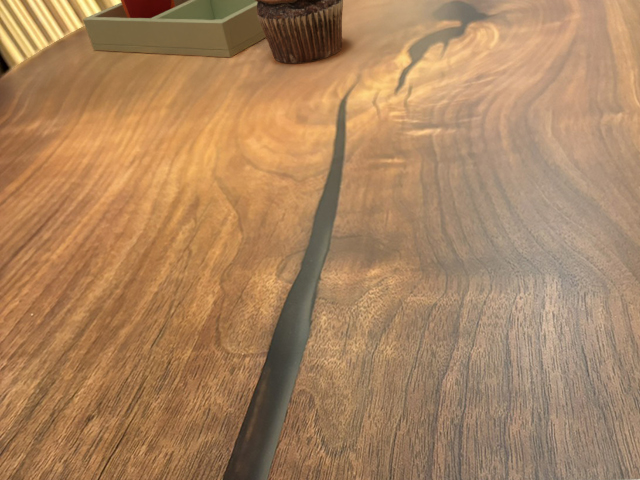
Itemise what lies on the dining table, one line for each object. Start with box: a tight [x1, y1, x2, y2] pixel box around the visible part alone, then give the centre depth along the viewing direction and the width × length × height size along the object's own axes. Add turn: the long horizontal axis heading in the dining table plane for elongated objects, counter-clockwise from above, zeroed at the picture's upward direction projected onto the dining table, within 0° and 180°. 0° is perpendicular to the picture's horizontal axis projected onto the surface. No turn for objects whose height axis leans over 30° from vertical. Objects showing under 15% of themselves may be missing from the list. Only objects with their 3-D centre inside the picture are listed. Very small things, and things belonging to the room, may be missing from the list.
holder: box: [82, 0, 266, 58], centre depth 91 cm, size 12×23×4 cm, turn 61°
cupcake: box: [255, 0, 344, 64], centre depth 79 cm, size 10×10×10 cm
